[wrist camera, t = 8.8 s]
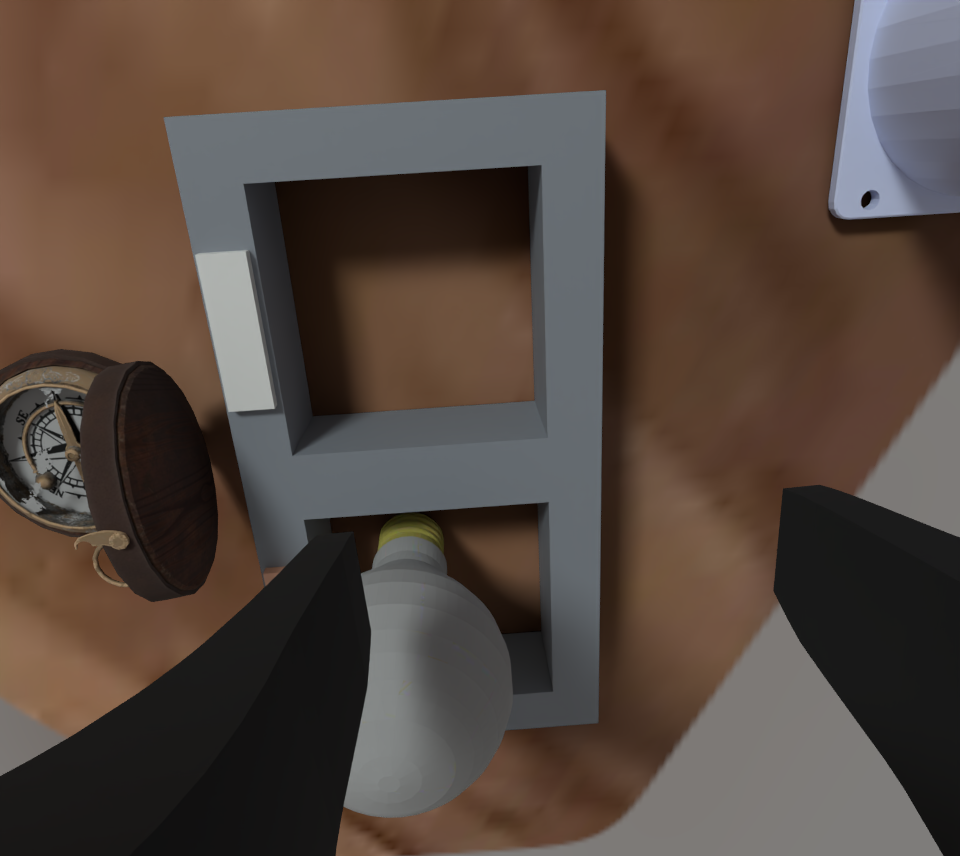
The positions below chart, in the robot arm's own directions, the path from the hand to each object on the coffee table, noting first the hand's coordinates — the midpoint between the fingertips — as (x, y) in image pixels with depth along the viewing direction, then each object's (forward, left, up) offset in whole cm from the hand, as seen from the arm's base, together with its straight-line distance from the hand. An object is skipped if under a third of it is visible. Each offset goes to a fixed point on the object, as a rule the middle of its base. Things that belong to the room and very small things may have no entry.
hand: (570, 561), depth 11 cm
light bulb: (+4, +5, -11) cm, 12 cm away
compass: (+13, +2, -11) cm, 17 cm away
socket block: (+3, +2, -10) cm, 11 cm away
